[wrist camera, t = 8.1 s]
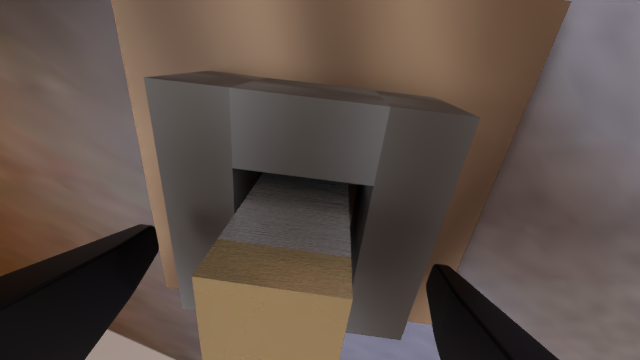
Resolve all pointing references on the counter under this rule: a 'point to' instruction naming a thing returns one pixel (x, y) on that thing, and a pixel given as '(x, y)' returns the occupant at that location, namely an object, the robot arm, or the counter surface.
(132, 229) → the robot arm
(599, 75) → the counter surface
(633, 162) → the counter surface
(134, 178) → the counter surface
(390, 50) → the stand
